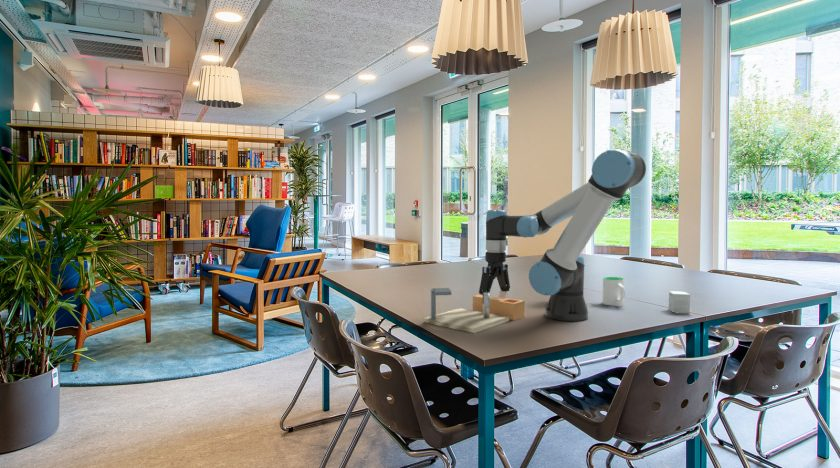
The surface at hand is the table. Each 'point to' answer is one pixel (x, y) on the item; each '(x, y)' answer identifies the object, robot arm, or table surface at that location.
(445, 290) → the keeper
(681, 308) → the product box
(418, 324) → the table surface
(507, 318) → the board
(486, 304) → the post
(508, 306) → the link
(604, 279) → the mug
